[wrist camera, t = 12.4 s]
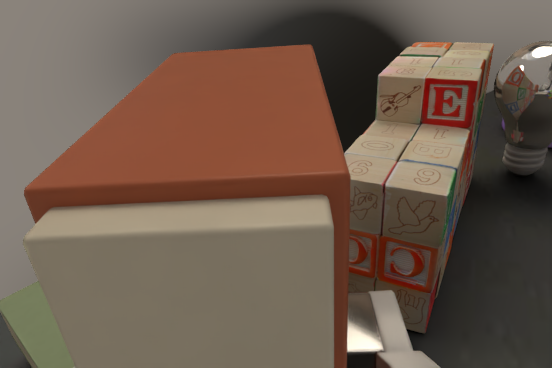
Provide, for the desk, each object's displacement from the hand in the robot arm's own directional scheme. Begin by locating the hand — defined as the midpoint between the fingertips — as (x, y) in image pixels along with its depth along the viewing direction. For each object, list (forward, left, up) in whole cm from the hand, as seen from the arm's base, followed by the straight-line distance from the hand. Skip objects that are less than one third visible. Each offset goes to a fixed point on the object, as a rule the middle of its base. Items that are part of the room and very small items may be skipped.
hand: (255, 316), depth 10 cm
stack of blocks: (-10, -21, -13) cm, 27 cm away
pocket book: (0, +1, -7) cm, 7 cm away
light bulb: (-22, -29, -13) cm, 39 cm away
